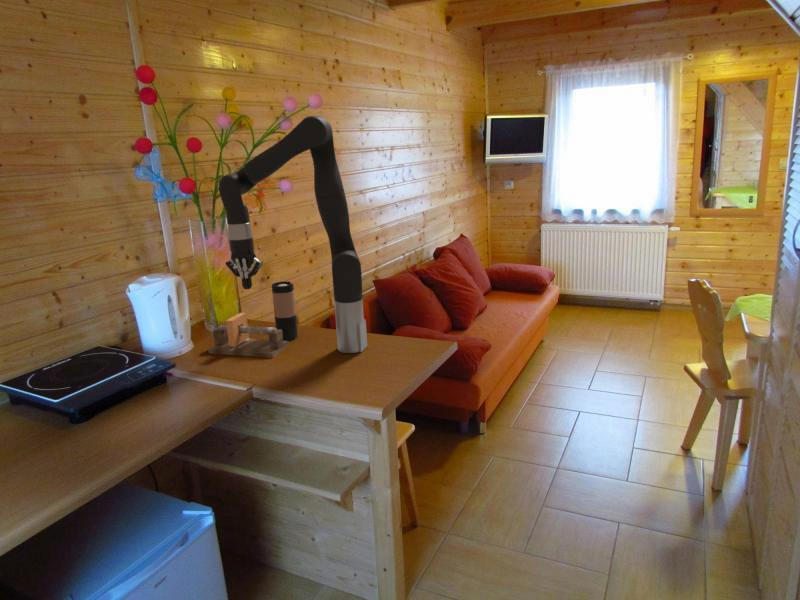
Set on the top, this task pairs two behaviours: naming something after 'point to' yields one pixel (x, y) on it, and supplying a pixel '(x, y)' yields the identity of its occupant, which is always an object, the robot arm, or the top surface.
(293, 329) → the travel mug
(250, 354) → the rod stand
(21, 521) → the top surface
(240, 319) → the light wood square slab
